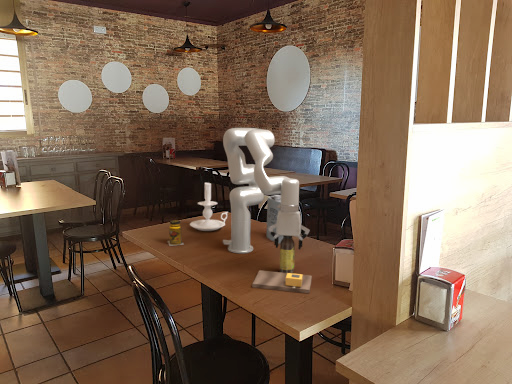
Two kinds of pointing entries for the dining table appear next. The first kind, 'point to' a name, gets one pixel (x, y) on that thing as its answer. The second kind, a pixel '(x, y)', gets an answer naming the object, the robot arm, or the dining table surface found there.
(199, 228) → the candlestick
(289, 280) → the block
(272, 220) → the flask
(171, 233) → the condiment
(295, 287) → the plank
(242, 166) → the robot arm
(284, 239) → the sauce bottle
